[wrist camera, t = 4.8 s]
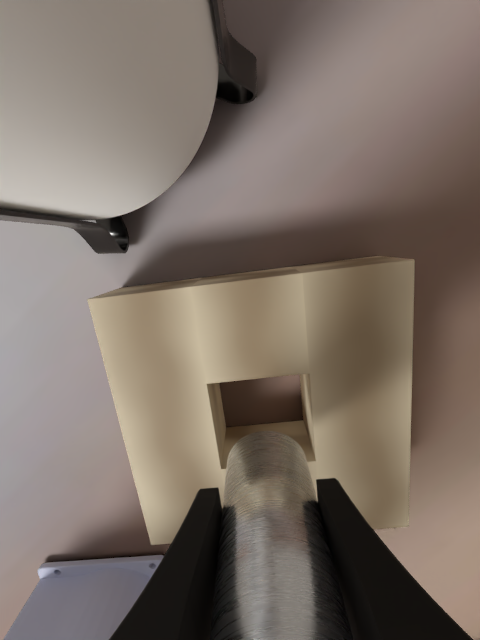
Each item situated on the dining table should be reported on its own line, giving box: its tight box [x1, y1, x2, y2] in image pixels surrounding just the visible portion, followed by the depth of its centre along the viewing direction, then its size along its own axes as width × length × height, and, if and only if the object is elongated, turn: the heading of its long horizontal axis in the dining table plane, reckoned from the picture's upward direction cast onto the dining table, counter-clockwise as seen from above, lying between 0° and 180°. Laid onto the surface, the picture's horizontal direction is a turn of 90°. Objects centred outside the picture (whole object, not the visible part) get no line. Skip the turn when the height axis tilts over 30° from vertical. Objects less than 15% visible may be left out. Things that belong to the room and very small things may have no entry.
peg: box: [210, 431, 354, 640], centre depth 8 cm, size 3×3×7 cm
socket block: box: [87, 256, 415, 545], centre depth 16 cm, size 14×14×4 cm
